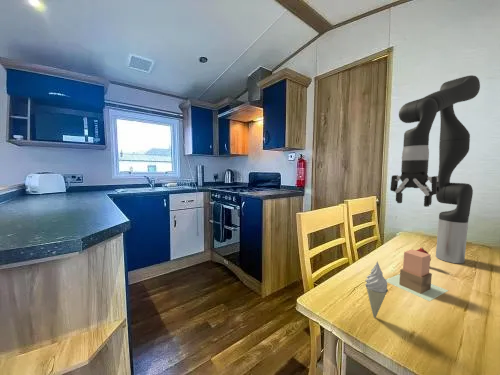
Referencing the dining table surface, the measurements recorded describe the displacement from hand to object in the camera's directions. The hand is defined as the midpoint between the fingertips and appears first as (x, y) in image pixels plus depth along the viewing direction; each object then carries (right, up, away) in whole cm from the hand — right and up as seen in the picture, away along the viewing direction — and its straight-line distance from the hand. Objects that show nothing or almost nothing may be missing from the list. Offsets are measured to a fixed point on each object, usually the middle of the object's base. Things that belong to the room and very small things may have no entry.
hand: (412, 204), depth 78 cm
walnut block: (-6, -26, -9) cm, 28 cm away
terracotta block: (-6, -21, -9) cm, 23 cm away
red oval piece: (+10, -26, +9) cm, 29 cm away
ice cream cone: (-26, -28, -22) cm, 44 cm away
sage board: (-5, -27, -8) cm, 28 cm away
